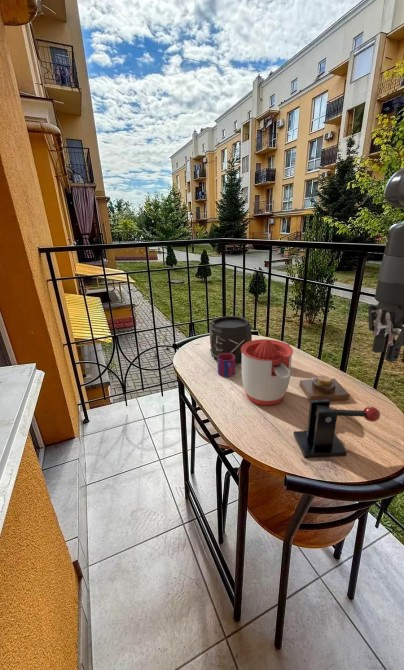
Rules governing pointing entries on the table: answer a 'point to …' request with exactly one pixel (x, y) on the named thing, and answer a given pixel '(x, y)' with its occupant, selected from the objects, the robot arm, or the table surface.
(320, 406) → the red-knob lever
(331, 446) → the black bracket
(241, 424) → the table surface
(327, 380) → the button
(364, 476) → the table surface
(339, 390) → the block
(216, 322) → the dark grey cylinder
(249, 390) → the citrus juicer
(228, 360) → the mug
